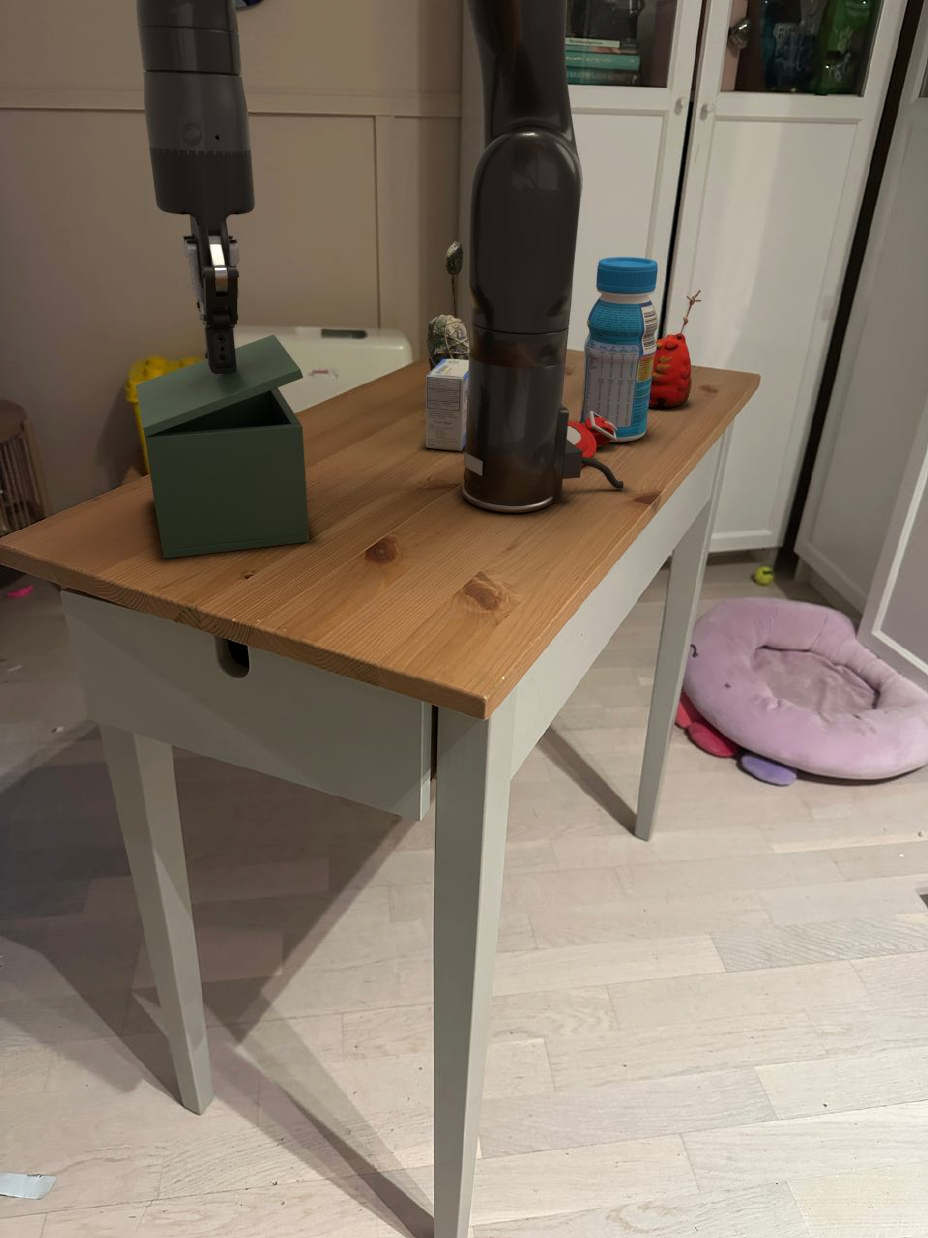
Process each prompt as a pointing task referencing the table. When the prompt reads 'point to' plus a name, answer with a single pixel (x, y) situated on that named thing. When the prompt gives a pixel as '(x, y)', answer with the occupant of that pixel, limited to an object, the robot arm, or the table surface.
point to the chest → (230, 479)
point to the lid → (214, 385)
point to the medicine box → (447, 405)
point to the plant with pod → (449, 321)
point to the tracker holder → (591, 434)
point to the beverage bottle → (621, 346)
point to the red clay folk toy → (672, 369)
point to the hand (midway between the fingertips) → (222, 370)
